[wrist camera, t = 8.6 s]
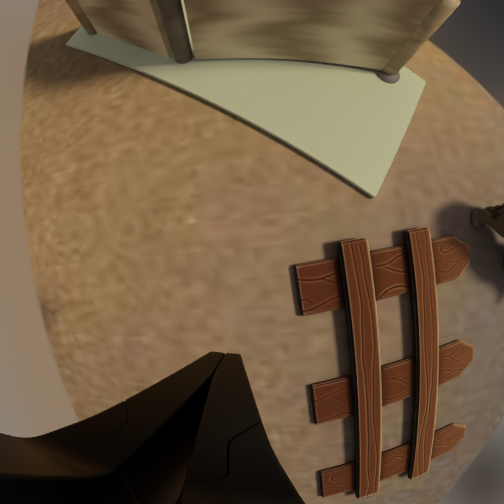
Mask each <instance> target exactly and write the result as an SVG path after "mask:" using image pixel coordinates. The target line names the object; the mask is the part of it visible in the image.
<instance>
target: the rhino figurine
mask: <svg viewBox="0 0 504 504" xmlns="http://www.w3.org/2000/svg"><path fill="white" fill-rule="evenodd" d="M471 222H472V226H473V227H475V228H477V229H480V228H481V227H482V226H483V223H485V224H487V225H488V226H490V227H491V228H493V229H494V230H495V231H496V232H497V233H498V234H499V235H500V236H502V237H503V238H504V203H503V205H497V206H495V207H493V206H491V207H489V209H488V211H487V210H483V211H482V212H481V213H479V212H478V211H473V212H472V215H471ZM503 269H504V264H503Z"/></svg>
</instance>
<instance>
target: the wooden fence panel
mask: <svg viewBox="0 0 504 504" xmlns="http://www.w3.org/2000/svg"><path fill="white" fill-rule="evenodd" d="M66 2H67V3H68V5H69V6H70V8H71V9H72V11H73V12H74V14H75V15H76V17H77V18H78V20H79V21H80V23H81V24H82V26H83V27H84V29H85V30H86V32H87V33H88V34H89V35H94V34H97V33H98V34H99V35H103V36H106V37H109V38H113V39H116V40H119V41H122V42H125V43H128V44H131V45H134V46H137V47H140V48H143V49H146V50H148V51H151V52H154V53H157V54H159V55H162V56H165V57H167V58H170V57H171V55H172V54H174V58H175V61H176V62H177V63H179V64H185V63H188V62H190V61H191V60H192V58H193V53H192V49H191V44H190V39H189V35H188V30H187V26H186V21H185V17H184V12H183V7H182V3H181V0H66Z"/></svg>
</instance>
